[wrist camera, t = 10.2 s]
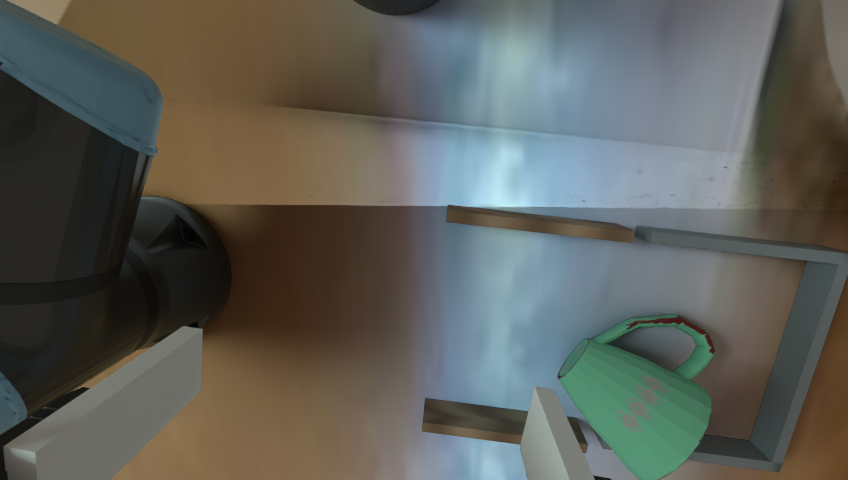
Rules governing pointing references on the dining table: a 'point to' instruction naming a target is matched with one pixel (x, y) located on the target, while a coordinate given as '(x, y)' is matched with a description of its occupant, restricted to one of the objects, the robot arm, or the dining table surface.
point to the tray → (796, 346)
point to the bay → (491, 419)
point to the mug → (642, 397)
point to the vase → (396, 5)
